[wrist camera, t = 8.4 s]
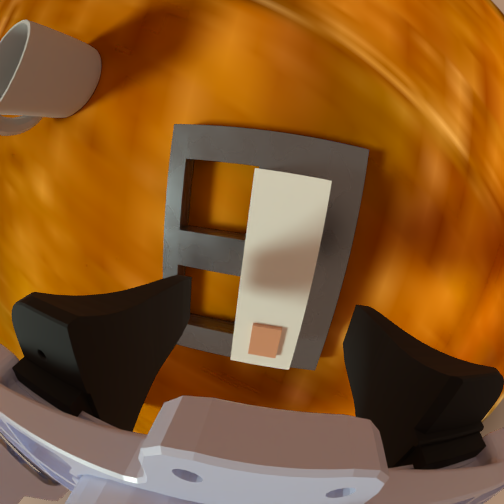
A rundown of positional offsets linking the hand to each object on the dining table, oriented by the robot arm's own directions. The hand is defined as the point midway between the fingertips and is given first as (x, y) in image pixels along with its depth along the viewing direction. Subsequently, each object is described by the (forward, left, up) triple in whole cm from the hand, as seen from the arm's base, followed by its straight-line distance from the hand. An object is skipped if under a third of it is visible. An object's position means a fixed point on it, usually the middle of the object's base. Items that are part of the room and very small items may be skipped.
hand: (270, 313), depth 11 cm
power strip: (0, 0, -8) cm, 8 cm away
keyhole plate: (0, +2, -8) cm, 8 cm away
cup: (+12, +21, -8) cm, 25 cm away
